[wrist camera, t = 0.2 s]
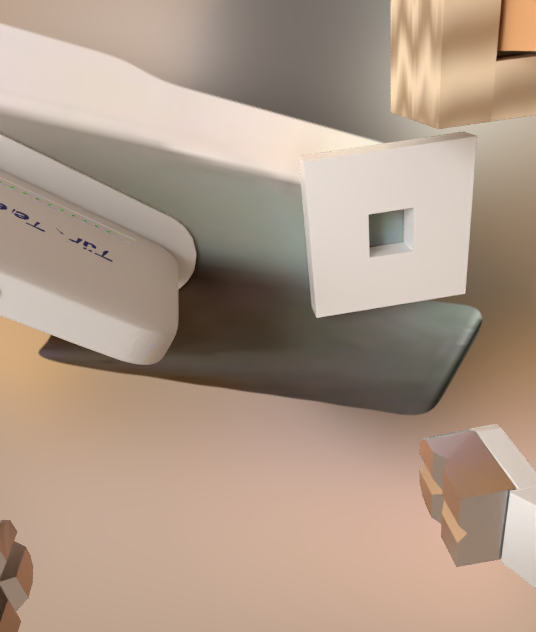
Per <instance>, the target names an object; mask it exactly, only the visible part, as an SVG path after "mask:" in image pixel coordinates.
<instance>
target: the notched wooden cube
mask: <svg viewBox="0 0 536 632" xmlns="http://www.w3.org/2000/svg"><path fill="white" fill-rule="evenodd" d="M500 11H501V0H391V113H394V114H397V115H400V116H403V117H405V118H408V119H411V120H414V121H417V122H420V123H423V124H426V125H428V126H431V127H434V128H437V129H443V128H449V127H456V126H463V125H470V124H476V123H484V122H490V121H497V120H504V119H511V118H518V117H525V116H532V115H536V51H497V45H498V34H499V22H500Z"/></svg>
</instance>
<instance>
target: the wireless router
mask: <svg viewBox="0 0 536 632" xmlns="http://www.w3.org/2000/svg"><path fill="white" fill-rule="evenodd" d="M196 255H197V253H196V249H195V245H194V240H193V237H192V236H191V234H190V233H189V231H188V230H187V229H186V227H185V226H184V225H183V224H182V223H181V222H179V221H178V220H177V219H176V218H174V217H172V216H170V215H167V214H165V213H163V212H161V211H159V210H157V209H155V208H153V207H151V206H149V205H147V204H145V203H143V202H141V201H139V200H137V199H135V198H133V197H131V196H129V195H126V194H124V193H122V192H120V191H118V190H116V189H114V188H112V187H110V186H108V185H106V184H104V183H102V182H100V181H98V180H96V179H94V178H92V177H90V176H87V175H85V174H83V173H81V172H79V171H77V170H75V169H73V168H71V167H69V166H67V165H65V164H63V163H61V162H59V161H57V160H55V159H53V158H51V157H49V156H46V155H44V154H42V153H40V152H38V151H36V150H34V149H32V148H30V147H28V146H26V145H24V144H22V143H20V142H18V141H16V140H14V139H12V138H10V137H8V136H5V135H3V134H1V133H0V316H3V317H6V318H8V319H11V320H14V321H16V322H19V323H22V324H24V325H27V326H29V327H32V328H35V329H37V330H40V331H43V332H45V333H48V334H51V335H53V336H56V337H59V338H61V339H64V340H67V341H69V342H72V343H75V344H77V345H80V346H83V347H85V348H88V349H91V350H94V351H96V352H99V353H102V354H105V355H107V356H110V357H113V358H116V359H119V360H121V361H125V362H129V363H134V364H143V365H147V364H154V363H156V362H158V361H160V360H161V359H162V357H163V356H164V355H165V353H166V351H167V350H168V348H169V346H170V344H171V342H172V341H173V339H174V337H175V334H176V332H177V328H178V289H180V288H181V287H182V286H183V285H184V284H185V283H186V282H187V281H188V280H189V278H190V276H191V275H192V273H193V271H194V268H195V262H196Z"/></svg>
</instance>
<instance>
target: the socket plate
mask: <svg viewBox="0 0 536 632" xmlns="http://www.w3.org/2000/svg"><path fill="white" fill-rule="evenodd" d="M476 144H477V136H475V135H472V134H469V133H466V132H459V133H452V134H446V135H439V136H432V137H425V138H418V139H411V140H404V141H397V142H390V143H384V144H377V145H370V146H363V147H356V148H349V149H343V150H336V151H329V152H322V153H315V154H308V155H301V156H299V166H300V178H301V189H302V201H303V213H304V224H305V236H306V247H307V259H308V270H309V282H310V294H311V305H312V308H313V311H314V313H315V315H316V318H318V317H325V316H331V315H337V314H343V313H349V312H355V311H362V310H368V309H374V308H380V307H386V306H392V305H398V304H405V303H411V302H417V301H423V300H429V299H435V298H441V297H448V296H453V295H460V294H465V291H466V278H467V265H468V251H469V238H470V225H471V211H472V198H473V183H474V171H475V158H476ZM401 209H404V242H400V243H394V244H387V245H381V246H375V247H369V214H375V213H382V212H388V211H395V210H401Z"/></svg>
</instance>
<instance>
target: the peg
mask: <svg viewBox="0 0 536 632" xmlns="http://www.w3.org/2000/svg"><path fill="white" fill-rule="evenodd" d="M497 51H536V0H501V11H500V22H499V34H498V45H497Z"/></svg>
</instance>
